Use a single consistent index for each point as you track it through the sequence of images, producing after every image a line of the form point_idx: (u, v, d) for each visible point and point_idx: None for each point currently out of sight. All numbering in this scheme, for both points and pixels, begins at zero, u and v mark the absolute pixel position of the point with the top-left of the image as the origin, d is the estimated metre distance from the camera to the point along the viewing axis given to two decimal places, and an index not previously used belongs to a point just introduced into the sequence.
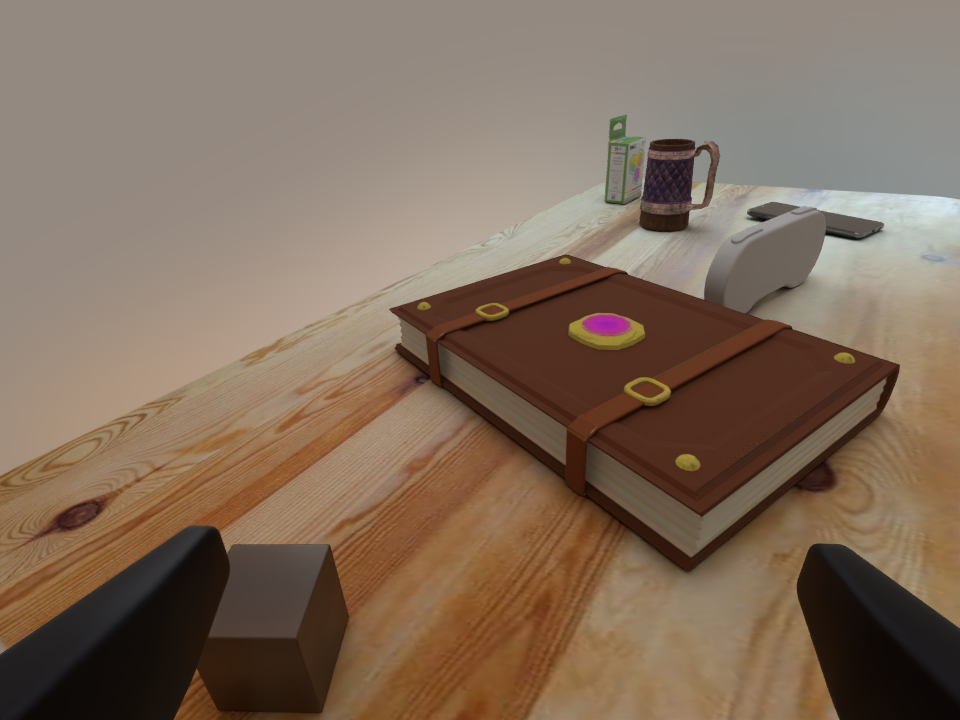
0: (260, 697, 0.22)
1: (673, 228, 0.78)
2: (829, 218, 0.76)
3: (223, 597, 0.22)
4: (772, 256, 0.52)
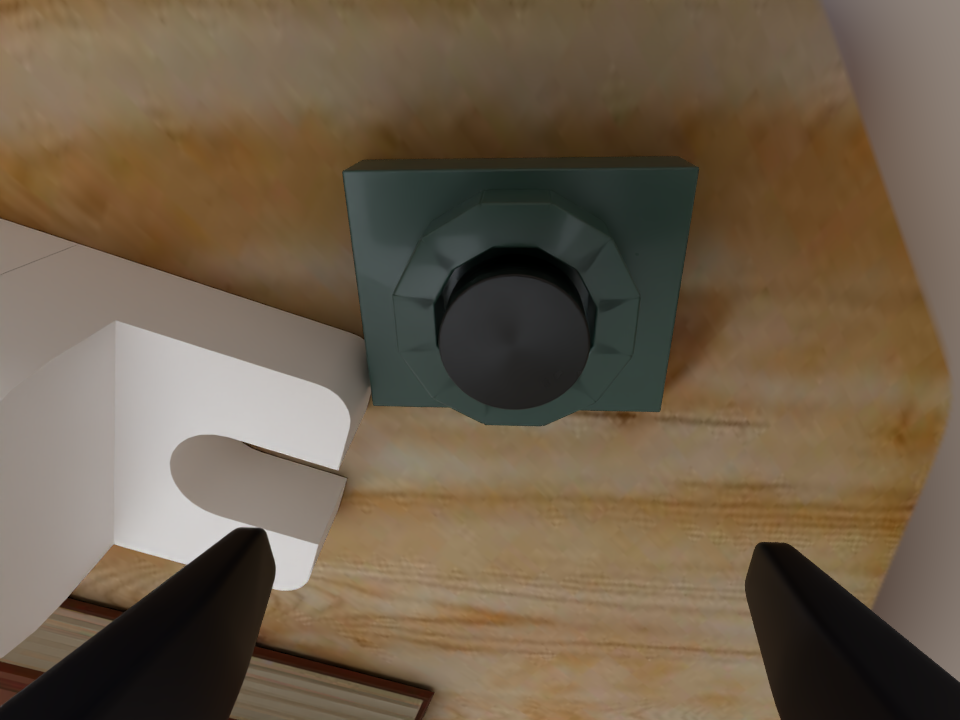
0: None
1: None
2: None
3: None
4: None
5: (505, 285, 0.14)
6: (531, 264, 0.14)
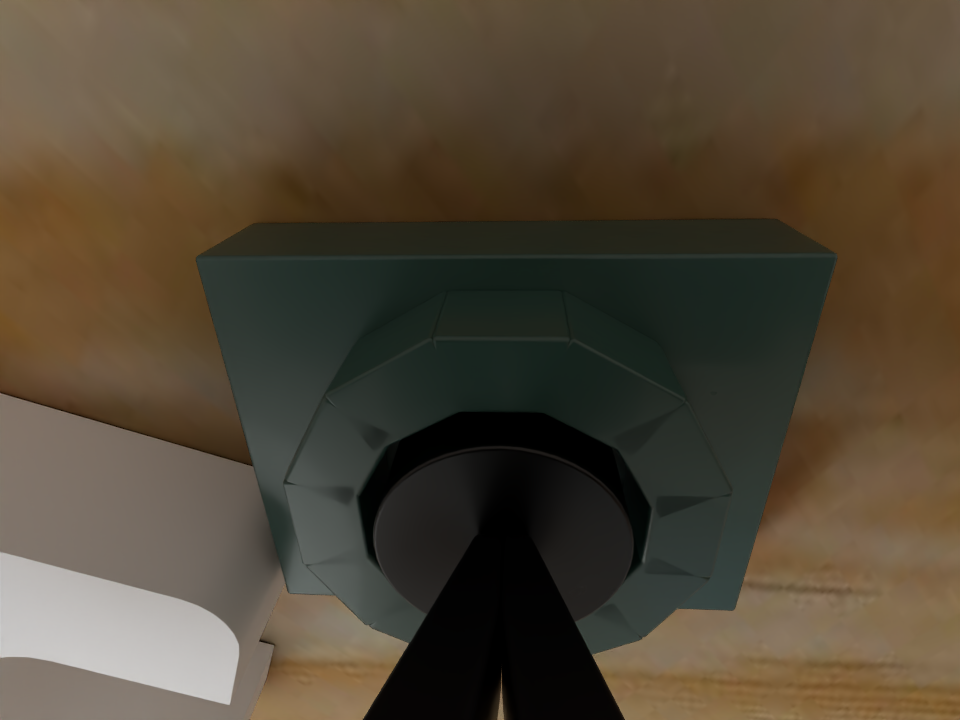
0: None
1: None
2: None
3: None
4: None
5: (485, 463, 0.08)
6: None
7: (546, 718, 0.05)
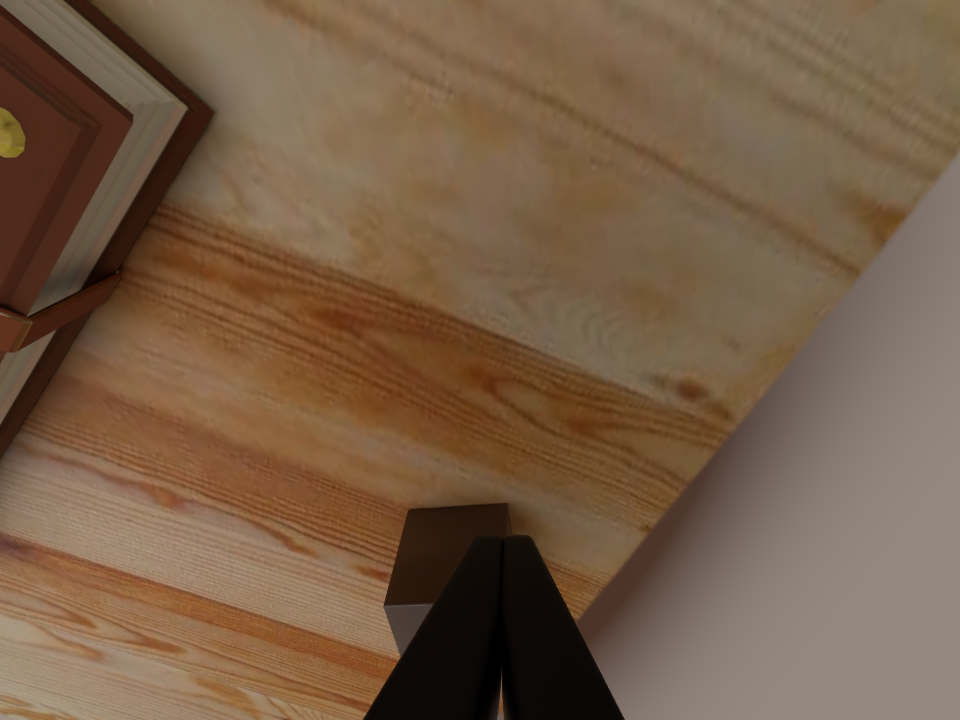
0: None
1: None
2: None
3: None
4: None
5: None
6: None
7: (546, 718, 0.05)
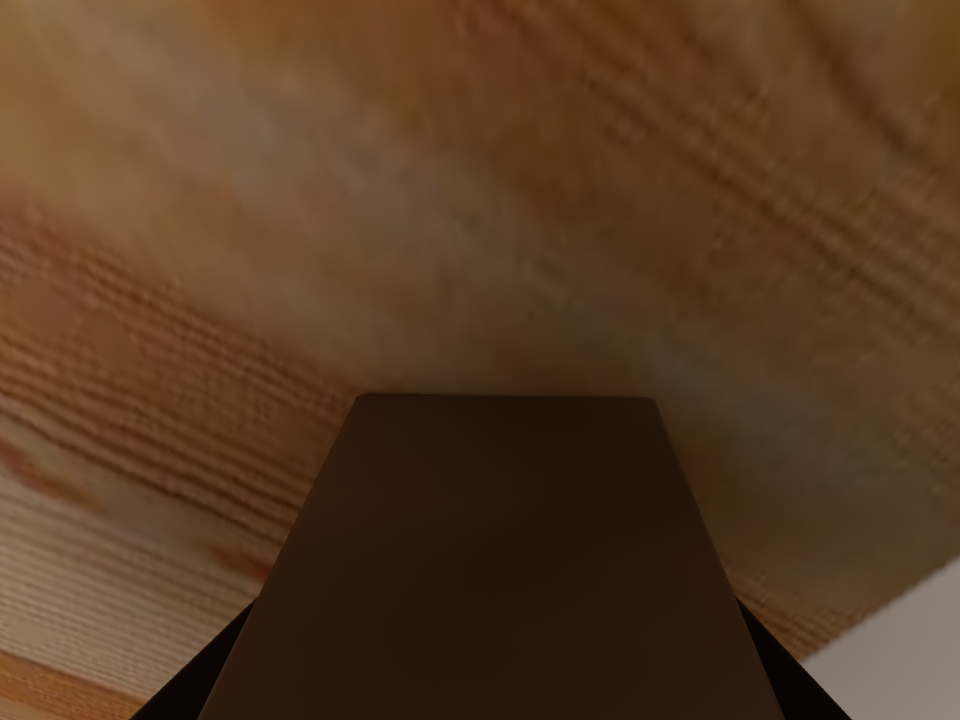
0: None
1: None
2: None
3: None
4: None
5: None
6: None
7: None
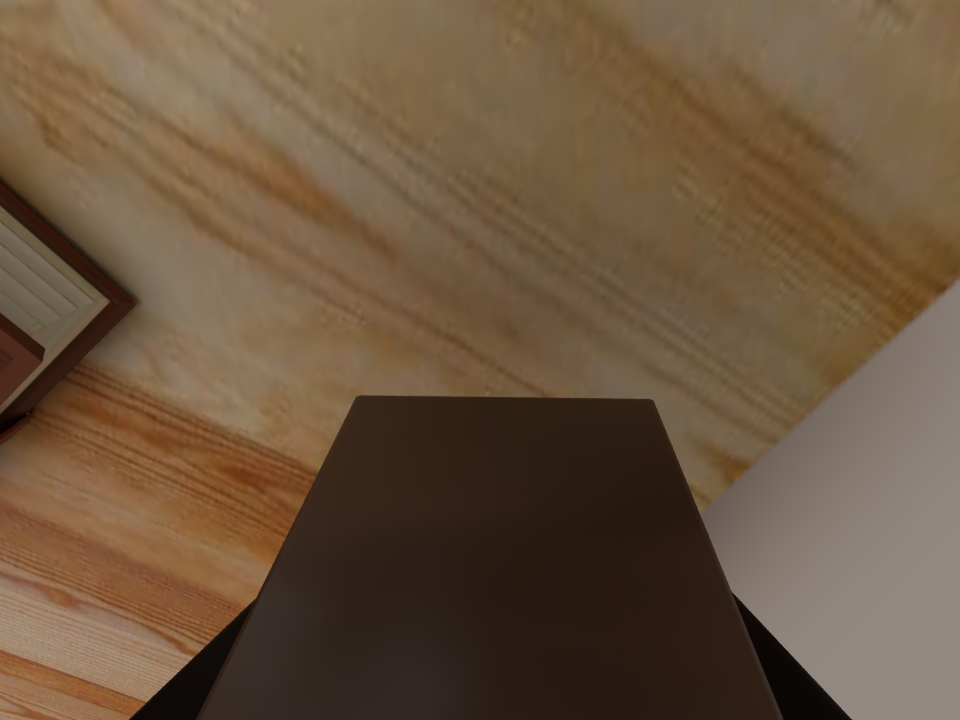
0: None
1: None
2: None
3: None
4: None
5: None
6: None
7: None
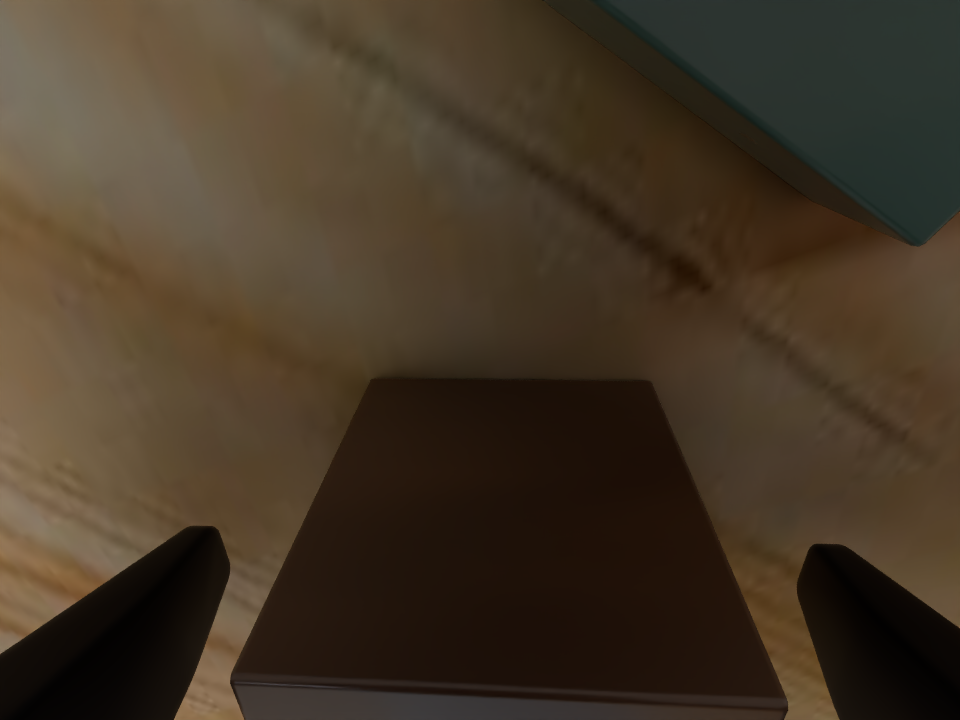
0: None
1: None
2: None
3: None
4: None
5: None
6: None
7: None
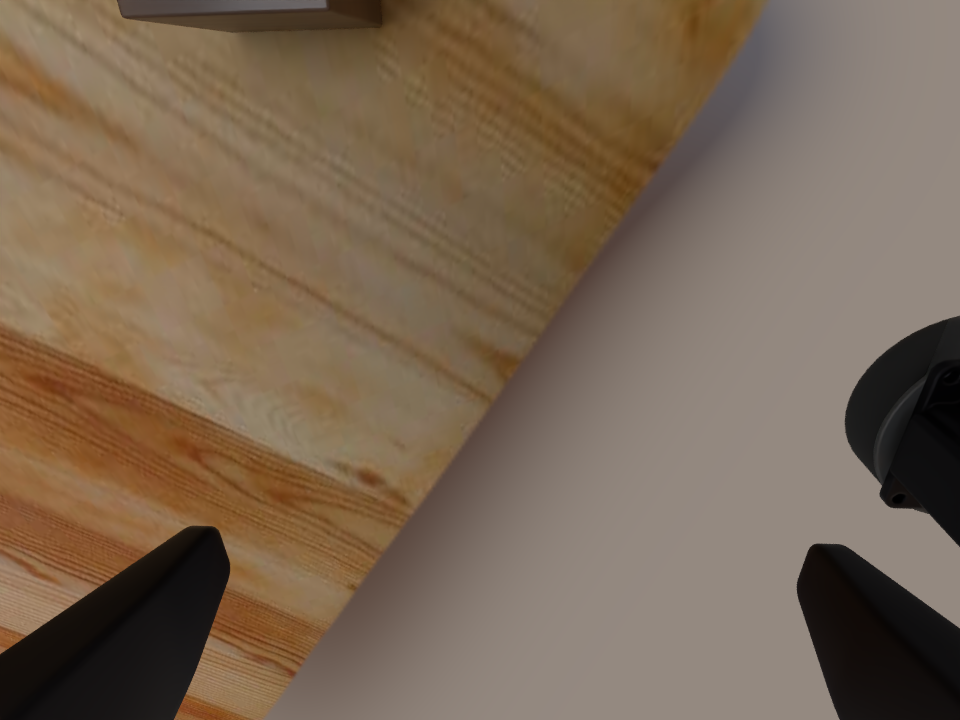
0: None
1: None
2: None
3: None
4: None
5: None
6: None
7: None
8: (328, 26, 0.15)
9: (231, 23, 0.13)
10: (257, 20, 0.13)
